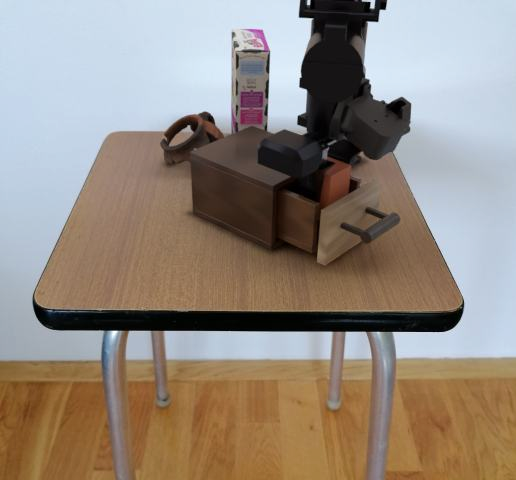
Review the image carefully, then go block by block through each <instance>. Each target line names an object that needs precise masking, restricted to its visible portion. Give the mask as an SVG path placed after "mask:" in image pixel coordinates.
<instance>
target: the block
mask: <svg viewBox="0 0 516 480" xmlns="http://www.w3.org/2000/svg"><path fill="white" fill-rule="evenodd" d="M327 160H329V161H332V162H335V163H336V164H335V165H334V166H333V167H331V168H330V169H328V170H327V171H326V172H325V174H324V179H323V185H322V191H321V196H320V201H319V215H318V220H320V219H321V210H322V209H324V208H326V207H327V206H329V205H331V204H333V203H334V202H336V201H338V200H339V199H341V198H343V197H345V196H346V195H348V191H349V182H350V176H351V173H352V169H351V165H349V164H346V163H344V162H341V161H338V160H335V159H333V158H330V157H327ZM301 196H303V195H302V193H301Z"/></svg>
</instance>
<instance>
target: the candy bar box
mask: <svg viewBox="0 0 516 480" xmlns="http://www.w3.org/2000/svg"><path fill="white" fill-rule="evenodd" d="M230 33H231V34H230V35H231V36H230V37H231V57H230V58H231V61H230V62H231V63H230V65H231V66H230V67H231V70H230V71H231V72H230V73H231V74H230V80H231V81H230V83H231V85H230V91H231V92H230V94H231V95H230V98H231V99H230V107H231V108H230V109H231V110H230V113H231V114H230V119H231V120H230V121H231V122H230V124H231V125H230V127H231V128H230V129H231V131H230V132H231V133H230V135H231V134H233V133H236V132H238V131H241V130H243V129H245V128H248V127H250V126H254V127H257V128H260V129H262V130H265V131H268V120H269V96H270V93H269V92H270V71H271V70H270V66H271V50H270V47H269V45H268V41H267V38H266V35H265V32H264V29H259V28H257V29H256V28H240V29H239V28H238V29H237V28H236V29H234V28H233V29H231V31H230Z"/></svg>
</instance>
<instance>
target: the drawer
mask: <svg viewBox="0 0 516 480" xmlns="http://www.w3.org/2000/svg"><path fill="white" fill-rule="evenodd" d="M361 181H362V179H360V178H358V177H355V176H353V175H350V182H349V191H348V195H346V196H345V197H343V198H341V199H339V200H338V201H336V202H334V203H333V204H331V205H329V206H327V207H326V208H324V209H322V210H321V219H320V220H318V215H319V203H318V202H315V201H313V200H310V199H308V198H305V197H303V196H301V193H302V192H301V190H300V188H299V185H298V183H297V181H296V180H295V181H293V182H291V183H289V184H287V185H285V186H284V187H282V188H280V189H278V190H277V209H276V236H275V237H277V238H279V239H282V240H284V241H286V242H285V243H288V244H290V245H292V246H295V247H297V248H299V249H301V250H304V251H306V252H308V253H310V254H313V253H315V252H317V255H316V256H317V257H316V263H318V264H320V265H323V266H327V265H328V264H329V263H331V262H333V261H334V260H336V259H338V258H339V257H340V256H342V255H343V254H345V253H346V252H348V251H350V250H351V249H353V248H354V247H355V246H357V245H359V244H360V243H363V244H366V245H368V244H370V243H372V242H374V241H375V240H376V239H378V238H380V237H381V236H382V235H384V234H386V233H387V232H389V231H390V230H391V229H393V228H394V227H396V226H397V225H399V224H400V223H401V217H400V215H399V213H397V212H395V211H394V212H390V213H385V212H383V211H381V210H379V205H380V201H381V200H380V199H381V198H380V197H381V191H382V186H383V182H382V181H379V180H376V179H372V180H371V181H369V182H367V183H365V184H363V185H362V186H361ZM378 219H379V220H378ZM377 220H378V221H377Z"/></svg>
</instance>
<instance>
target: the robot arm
mask: <svg viewBox="0 0 516 480" xmlns="http://www.w3.org/2000/svg"><path fill="white" fill-rule="evenodd" d="M371 4H372V2H371V1H367V0H309V4H308V0H299V7H298V18H299V19H311V21H310V24H311V25H310V37H309V40H308V42H307V45H306V48H305V51H304V55H303V58H302V61H301V65H300V76H301V77H299V82H298V88H299V89H302V90H306V100H305V101H306V102H305V112H302V113H301V114H299V115H297V118H296V119H297V120H296V121H297V122H296V125H297V126H300V127H303V128H305V129H306V132H304V133H302V134H299V133H297V132H294V131H291V130H288V129H286V128H284V129H281V130H280V131H277V132H275V133H274V134H273V135H270V136H268V137H266V138H264V139H263V140H262V141H261V142H259V143H258V148H257V162H258V164H260V165H263V166H265V167H268V168H270V169H273V170H275V171H278V172H281V173H283V174H286V175H288V176H291V177H293V178H295V179H296V181H297V183H298V185H299V188H300V190H301V192H302V195H303V197H305V198H308V199H310V200H313V201H315V202H318V203H319V201H320V196H321V191H322V185H323V179H324V174H325V172H326V171H327V170H328V169H330V168H331V167H333V166H334V165H335V164H336V163H335V162H332V161H329V160H327V157H330V158H333V159H335V160H338V161H341V162H344V163H346V164H349V165H351V170H352V169H353V167H354V165H355V164H357V163H359V162H361V161H362V156H361V155H360V154H361V153H362V154H363V156H364V157H366V158H367V159H369V160H372V161H378V160H381V159H382V158H383V157H384V156H386V155H388V154H390V153H393V152H395V150H396V149H397V147H398V145H399V143H400V141H401V139H402V138H403V136H405V135H407V134H409V133H410V132H411V126H410V125H411V123H412V121H411V119H412V117H411V116H412V103H411V102H410V101H409V100H407V99H406V98H405V97H403V96H399V97H397V98H396V99H394V100H391V101H390V102H386V101H385V100H384V99H382V100H378V99H375V98H374V95H373V94H372V92H371V91H372V84H371V83H370V82H371V80H370V79H369V78H366V73H367V72H366V71H367V69H366V66H365V59H366V45H367V44H366V43H367V37H368V29H369V28H368V27H369V23H379V21H380V13H381V11H387V6H388V0H374V5H373V7H374V8H372V7H371Z"/></svg>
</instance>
